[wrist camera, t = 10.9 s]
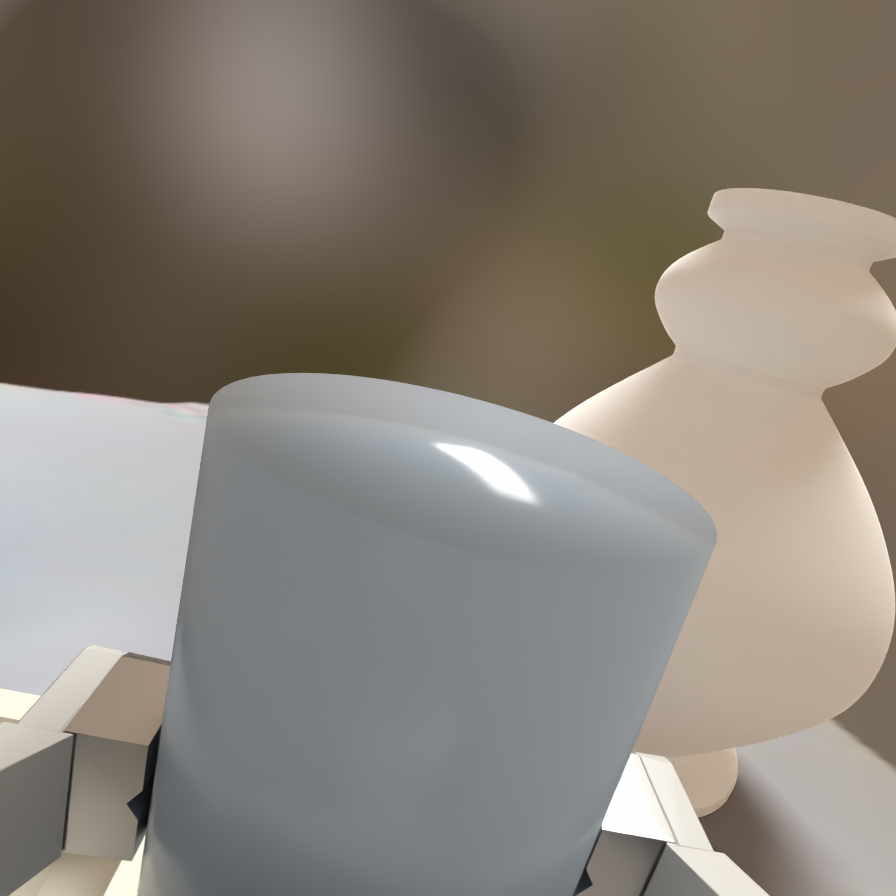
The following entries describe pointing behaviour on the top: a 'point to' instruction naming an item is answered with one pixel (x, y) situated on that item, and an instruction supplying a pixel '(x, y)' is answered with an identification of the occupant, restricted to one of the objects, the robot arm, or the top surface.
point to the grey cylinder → (408, 644)
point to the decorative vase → (763, 475)
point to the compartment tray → (72, 875)
